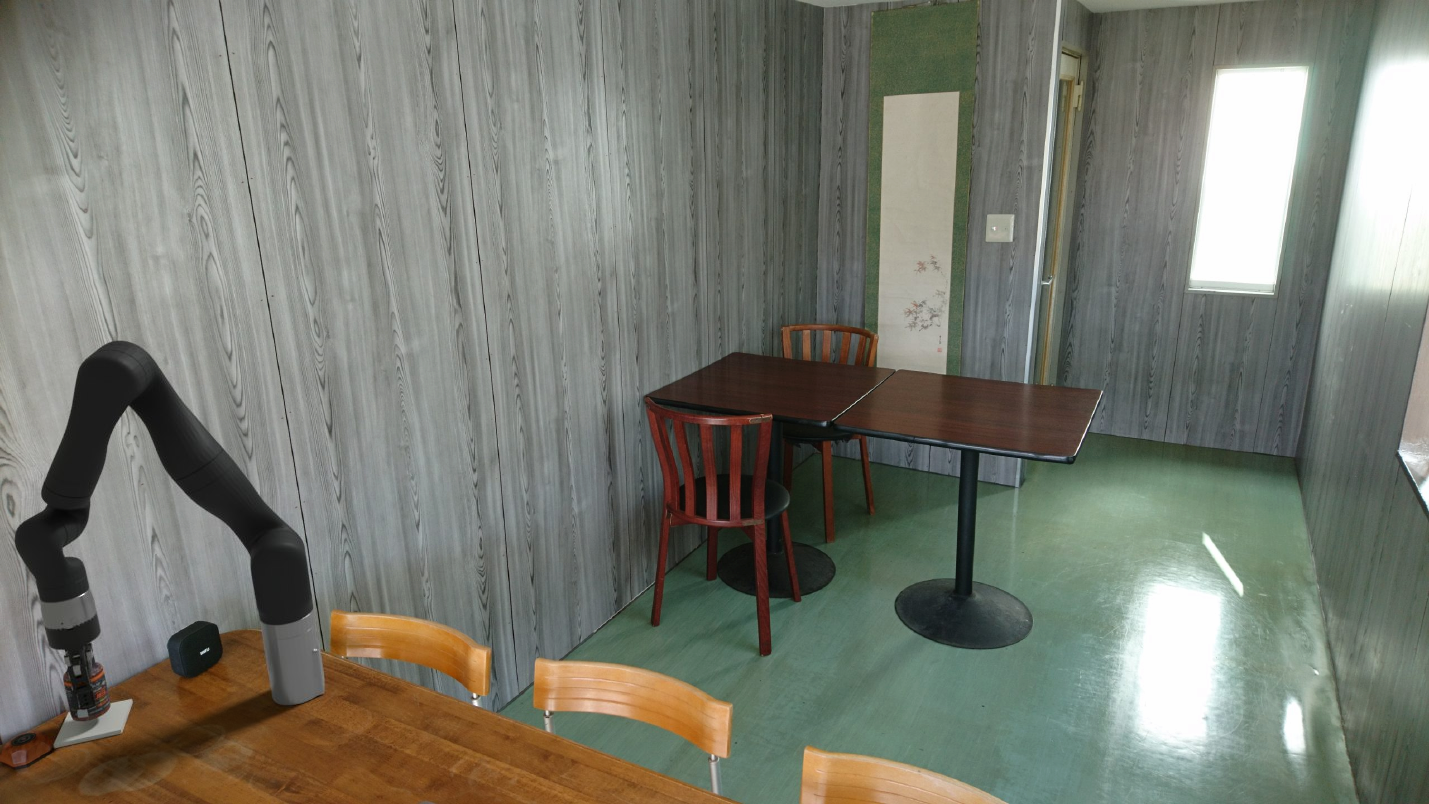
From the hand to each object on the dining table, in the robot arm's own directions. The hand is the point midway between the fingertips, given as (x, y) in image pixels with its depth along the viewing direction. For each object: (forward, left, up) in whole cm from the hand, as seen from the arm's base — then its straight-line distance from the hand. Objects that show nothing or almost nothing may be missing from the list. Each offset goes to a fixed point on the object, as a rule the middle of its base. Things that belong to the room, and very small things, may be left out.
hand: (89, 698), depth 154 cm
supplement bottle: (0, 0, -3) cm, 3 cm away
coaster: (0, 0, -6) cm, 6 cm away
